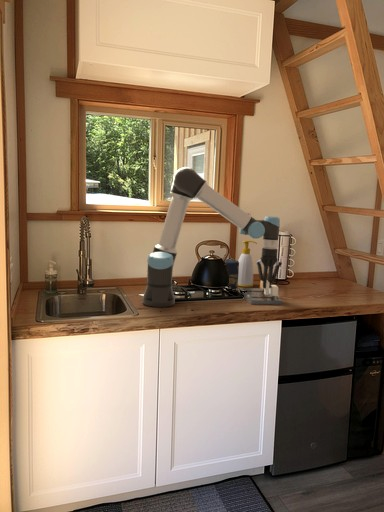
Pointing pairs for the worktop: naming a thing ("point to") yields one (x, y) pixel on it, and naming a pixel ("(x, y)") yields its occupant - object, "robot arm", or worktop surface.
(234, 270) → the canister
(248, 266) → the soap bottle
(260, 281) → the block
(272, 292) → the block
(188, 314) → the worktop surface
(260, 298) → the console
